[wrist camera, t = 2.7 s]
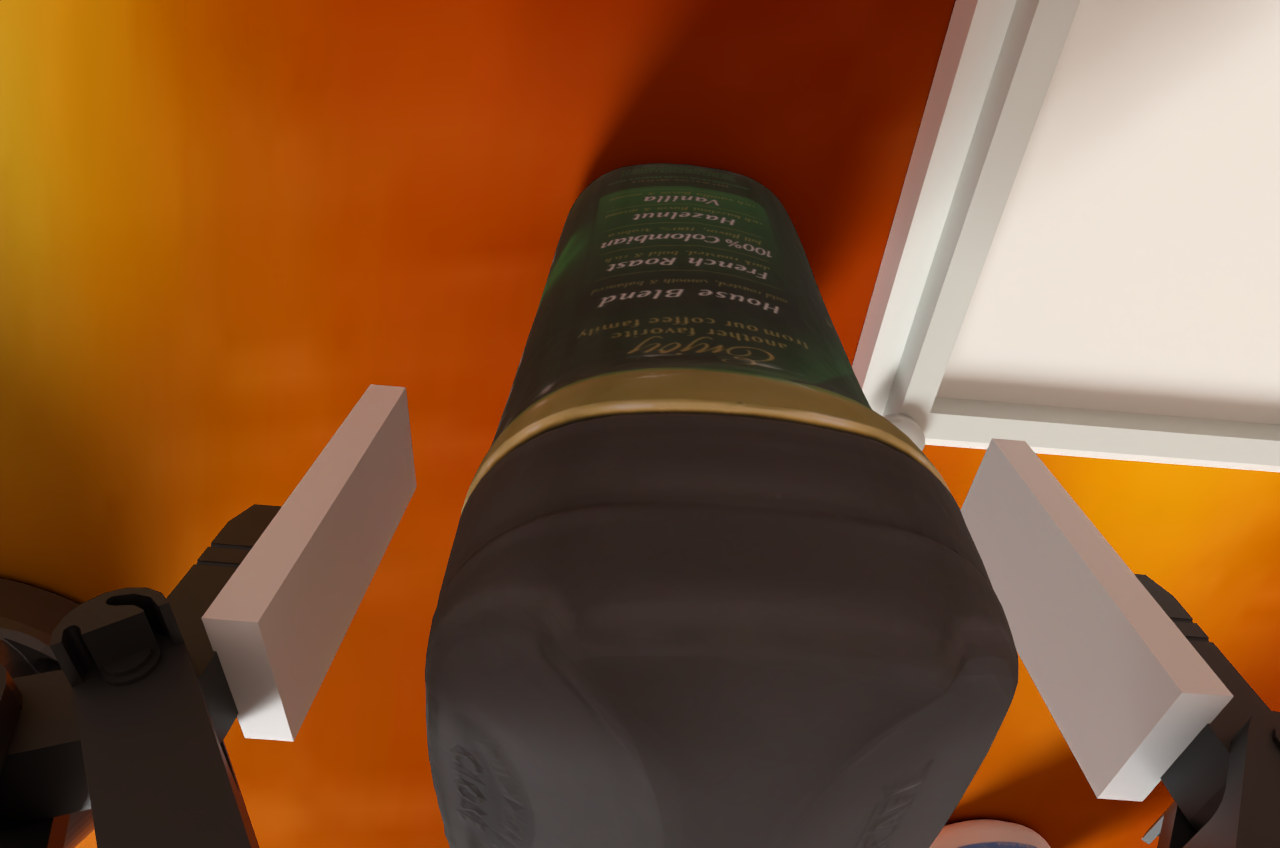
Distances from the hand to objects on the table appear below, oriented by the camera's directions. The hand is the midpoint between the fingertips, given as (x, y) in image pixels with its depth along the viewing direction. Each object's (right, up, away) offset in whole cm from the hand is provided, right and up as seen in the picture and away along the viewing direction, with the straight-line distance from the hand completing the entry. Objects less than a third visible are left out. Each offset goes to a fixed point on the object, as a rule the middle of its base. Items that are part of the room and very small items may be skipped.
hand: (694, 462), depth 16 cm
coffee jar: (0, +5, +8) cm, 10 cm away
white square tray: (+16, +8, +6) cm, 19 cm away
